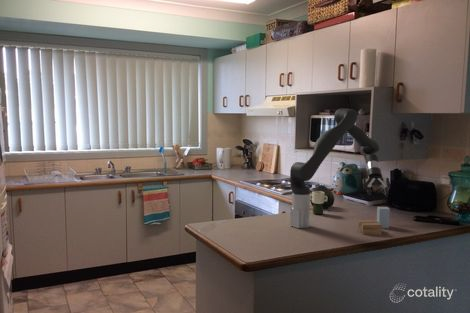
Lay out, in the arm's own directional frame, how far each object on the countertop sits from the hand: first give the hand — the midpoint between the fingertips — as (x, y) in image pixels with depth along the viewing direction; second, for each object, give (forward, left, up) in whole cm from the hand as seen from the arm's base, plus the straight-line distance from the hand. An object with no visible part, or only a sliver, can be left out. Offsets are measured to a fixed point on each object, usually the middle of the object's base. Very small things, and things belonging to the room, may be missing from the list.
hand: (378, 194), depth 223 cm
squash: (+4, +42, -15) cm, 44 cm away
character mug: (-11, +32, -15) cm, 37 cm away
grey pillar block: (-8, -8, -15) cm, 19 cm away
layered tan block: (-22, -9, -15) cm, 29 cm away
